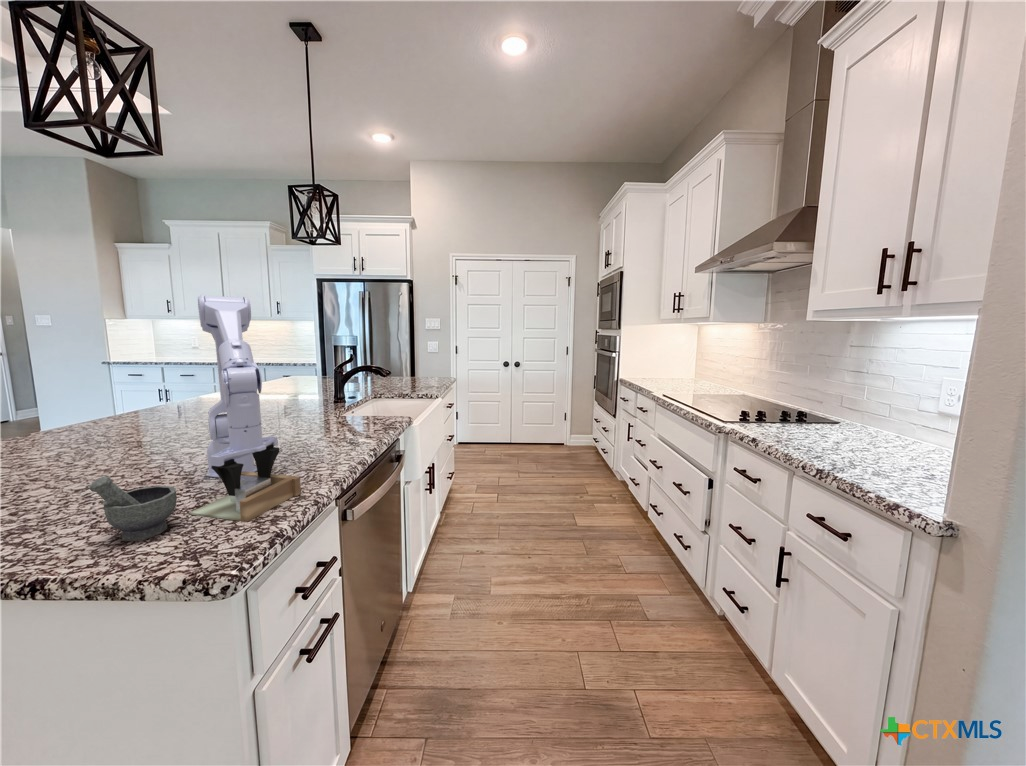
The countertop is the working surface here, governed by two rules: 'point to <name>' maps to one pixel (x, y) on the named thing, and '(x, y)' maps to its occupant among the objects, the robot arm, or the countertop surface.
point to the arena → (253, 499)
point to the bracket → (249, 488)
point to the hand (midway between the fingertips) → (249, 487)
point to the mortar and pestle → (136, 508)
